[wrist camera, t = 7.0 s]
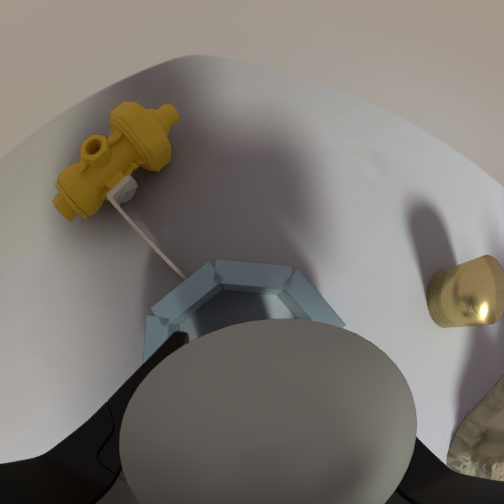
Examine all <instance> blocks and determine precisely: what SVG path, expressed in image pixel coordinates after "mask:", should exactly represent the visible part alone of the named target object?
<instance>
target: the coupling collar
mask: <svg viewBox="0 0 504 504" xmlns="http://www.w3.org/2000/svg"><path fill="white" fill-rule="evenodd" d="M221 290H229V291H239V292H251V293H262V294H275V295H277V296H278V297H279V298H280V300H281V301H282V302H283V303H284V304H285V305H286V307H287V308H288V309H289V310H290V311H291V312H292V313H293V315H294V316H295V317H296V318H297V319H302V320H311V321H318V322H322V323H326V324H330V325H334V326H338V327H341V328H343V327H344V326H345V325H346V324H345V323H344V322H343V321H342V319H341V318H340V317H339V316H338V315H337V314H336V312H335V311H334V310H333V309H332V308H331V306H330V305H329V304H328V303H327V302H326V301H325V299H324V298H323V297H322V296H321V295H320V294H319V292H318V291H317V290H316V289H315V288H314V287H313V285H312V284H311V283H310V282H309V281H308V280H307V278H306V277H305V276H304V275H303V274H302V273H301V272H300V270H299V269H298V270H297V271H296V272H295V273H293V274H292V266H287V265H276V264H265V263H254V262H243V261H233V260H222V259H216V263H215V268H214V267H213V265H212V264H211V263H210V262H209V261H208V262H207V263H206V264H205V265H203V266H202V267H201V268H200V269H198V270H197V271H196V272H195V273H193V274H192V275H191V276H190V277H188V278H187V279H186V280H185V281H183V282H182V283H181V284H180V285H178V286H177V287H176V288H175V289H173V290H172V291H171V292H170V293H169V294H167V295H166V296H165V297H164V298H162V299H161V300H160V301H159V302H158V303H156V304H155V305H154V306H153V307H151V308H150V309H151V310H152V312H153V313H154V314H155V316H152V315H147V318H146V329H145V341H144V354H143V363H144V362H145V361H146V360H147V359H148V358H149V357H150V356H151V355H152V354H153V353H154V352H155V351H156V350H157V349H158V348H159V347H160V346H161V345H162V344H163V343H164V342H165V341H166V340H167V339H168V338H169V337H170V335H171V334H172V333H173V332H175V331H179V327H180V323H181V322H183V321H184V320H185V319H186V318H188V317H189V316H190V315H191V314H193V313H194V312H195V311H196V310H198V309H199V308H200V307H201V306H202V305H204V304H205V303H206V302H207V301H209V300H210V299H211V298H212V297H214V296H215V295H216V294H217V293H218V292H220V291H221Z"/></svg>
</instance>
